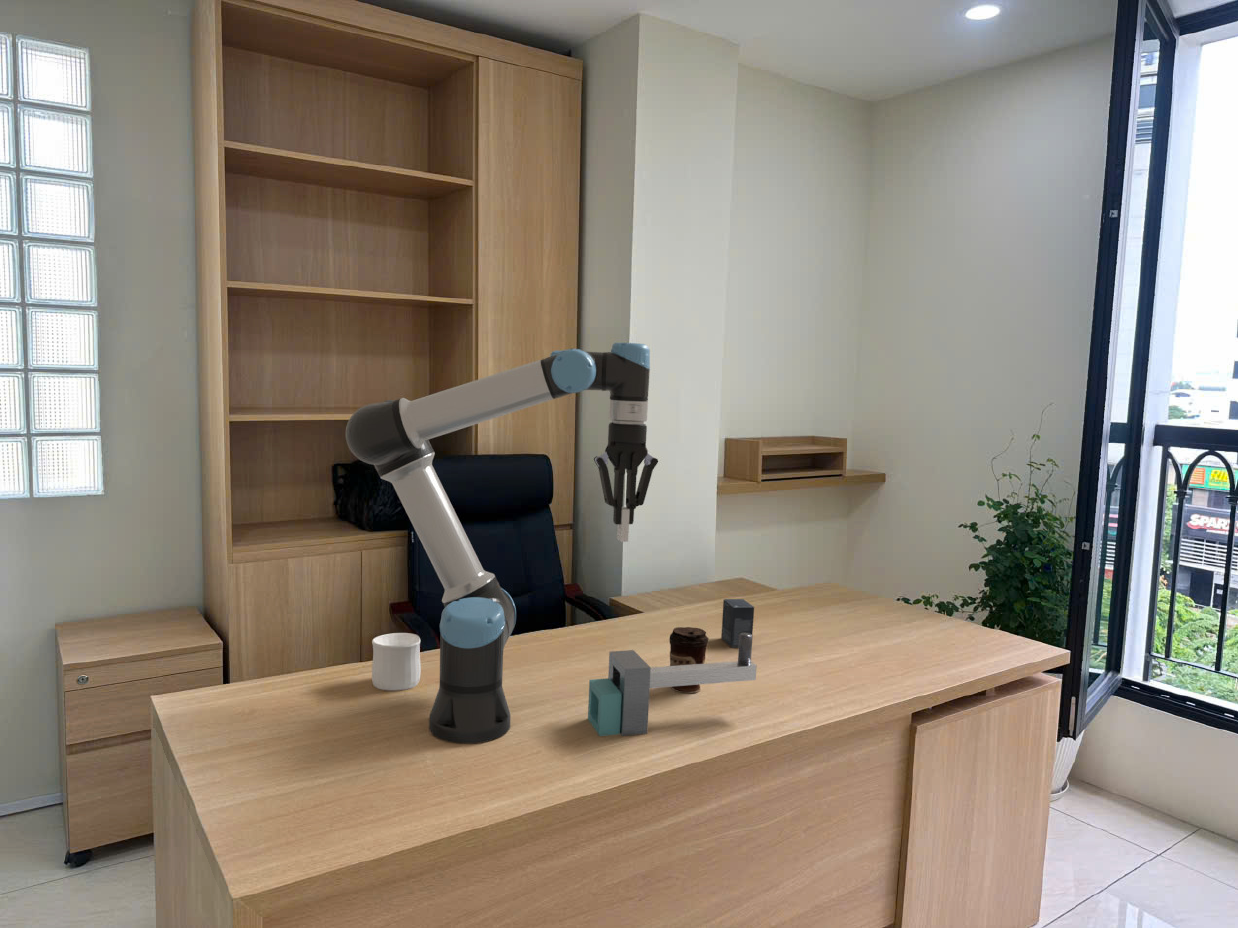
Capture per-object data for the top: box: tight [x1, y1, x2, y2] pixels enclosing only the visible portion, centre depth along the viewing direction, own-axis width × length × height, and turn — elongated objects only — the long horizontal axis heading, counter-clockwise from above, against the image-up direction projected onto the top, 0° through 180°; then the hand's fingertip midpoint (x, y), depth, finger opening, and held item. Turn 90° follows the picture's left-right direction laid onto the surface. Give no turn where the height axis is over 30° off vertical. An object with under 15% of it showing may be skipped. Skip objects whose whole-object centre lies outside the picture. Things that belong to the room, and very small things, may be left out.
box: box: [720, 598, 755, 648], centre depth 218 cm, size 8×6×11 cm
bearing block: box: [607, 649, 652, 737], centre depth 165 cm, size 5×10×13 cm, turn 18°
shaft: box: [650, 633, 757, 689], centre depth 169 cm, size 26×3×9 cm, turn 108°
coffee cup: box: [668, 626, 709, 694], centre depth 185 cm, size 9×8×13 cm
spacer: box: [587, 677, 622, 737], centre depth 164 cm, size 4×8×8 cm, turn 18°
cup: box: [371, 632, 422, 692], centre depth 181 cm, size 10×10×10 cm
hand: (622, 540), depth 171 cm, fingers closed
